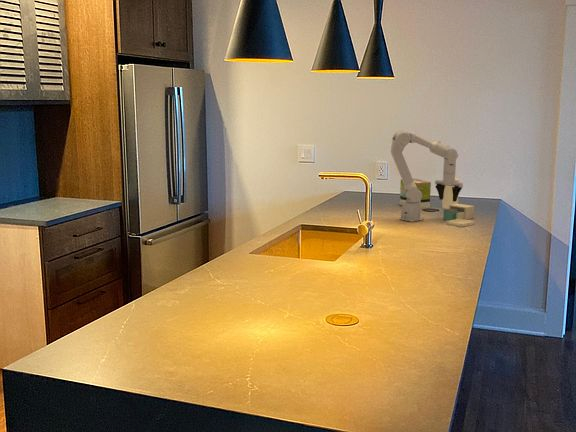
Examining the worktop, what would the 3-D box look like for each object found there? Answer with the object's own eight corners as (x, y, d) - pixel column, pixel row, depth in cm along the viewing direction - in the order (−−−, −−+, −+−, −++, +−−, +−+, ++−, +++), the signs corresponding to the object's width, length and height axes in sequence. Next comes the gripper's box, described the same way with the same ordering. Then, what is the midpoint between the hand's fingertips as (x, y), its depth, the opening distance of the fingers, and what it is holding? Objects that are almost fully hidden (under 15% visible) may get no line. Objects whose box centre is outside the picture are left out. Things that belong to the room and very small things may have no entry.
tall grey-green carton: (450, 221, 320) (450, 211, 319) (443, 219, 323) (443, 209, 322) (457, 219, 324) (457, 209, 323) (450, 218, 327) (450, 208, 326)
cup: (459, 209, 353) (460, 179, 350) (443, 208, 353) (445, 179, 350) (455, 206, 361) (457, 177, 358) (440, 206, 361) (442, 177, 358)
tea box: (398, 205, 363) (400, 178, 361) (413, 204, 368) (415, 178, 365) (415, 209, 350) (416, 182, 347) (430, 208, 354) (431, 181, 351)
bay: (459, 220, 320) (460, 208, 319) (442, 217, 327) (442, 206, 326) (473, 217, 328) (474, 206, 327) (456, 215, 335) (457, 203, 334)
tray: (461, 227, 305) (461, 224, 305) (446, 224, 311) (446, 221, 311) (474, 224, 312) (474, 221, 312) (458, 221, 318) (458, 218, 318)
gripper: (466, 173, 316) (465, 201, 319) (441, 170, 327) (440, 197, 329) (458, 174, 312) (457, 202, 314) (433, 172, 322) (431, 199, 325)
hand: (447, 200), depth 321 cm, fingers open, 7 cm apart
